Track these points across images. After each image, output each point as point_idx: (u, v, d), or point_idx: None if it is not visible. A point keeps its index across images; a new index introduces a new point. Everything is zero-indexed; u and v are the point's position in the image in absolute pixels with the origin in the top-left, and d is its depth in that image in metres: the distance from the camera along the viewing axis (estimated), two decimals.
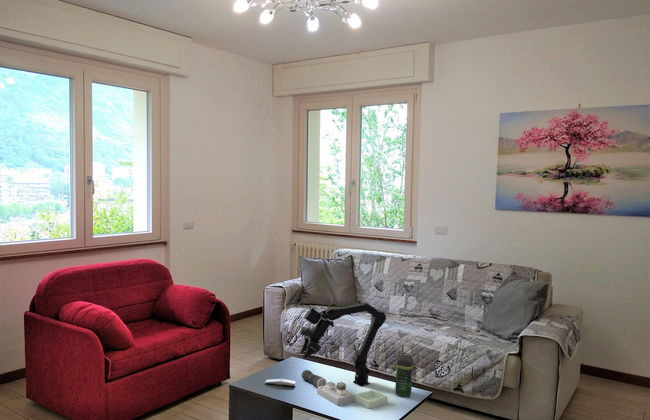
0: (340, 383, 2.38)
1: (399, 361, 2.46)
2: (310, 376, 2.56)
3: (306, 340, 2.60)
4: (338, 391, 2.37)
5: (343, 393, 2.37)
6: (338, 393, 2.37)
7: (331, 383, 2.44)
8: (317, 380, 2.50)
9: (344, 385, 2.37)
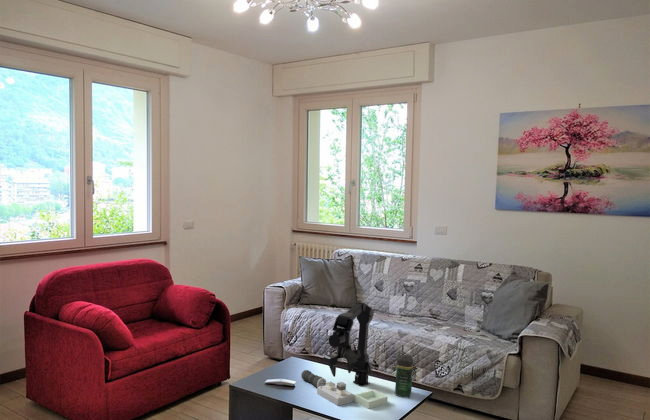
0: (340, 383, 2.38)
1: (399, 361, 2.46)
2: (310, 376, 2.56)
3: None
4: (338, 391, 2.37)
5: (343, 393, 2.37)
6: (338, 393, 2.37)
7: (331, 383, 2.44)
8: (317, 380, 2.50)
9: (344, 385, 2.37)
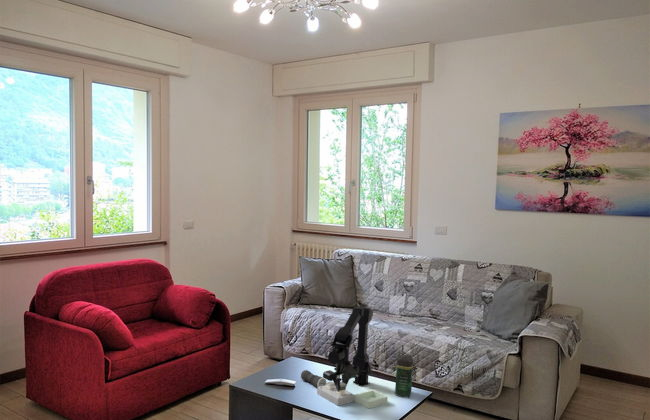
0: (340, 383, 2.38)
1: (399, 361, 2.46)
2: (310, 376, 2.56)
3: None
4: None
5: (343, 393, 2.37)
6: (338, 393, 2.37)
7: (331, 383, 2.44)
8: (317, 380, 2.50)
9: (344, 385, 2.37)
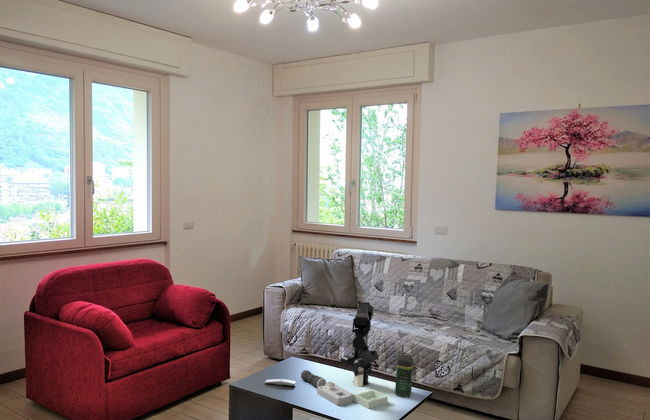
0: (358, 367, 2.38)
1: (399, 361, 2.46)
2: (310, 376, 2.56)
3: None
4: (356, 376, 2.37)
5: (361, 378, 2.36)
6: (356, 378, 2.37)
7: (331, 383, 2.44)
8: (317, 380, 2.50)
9: (362, 370, 2.36)
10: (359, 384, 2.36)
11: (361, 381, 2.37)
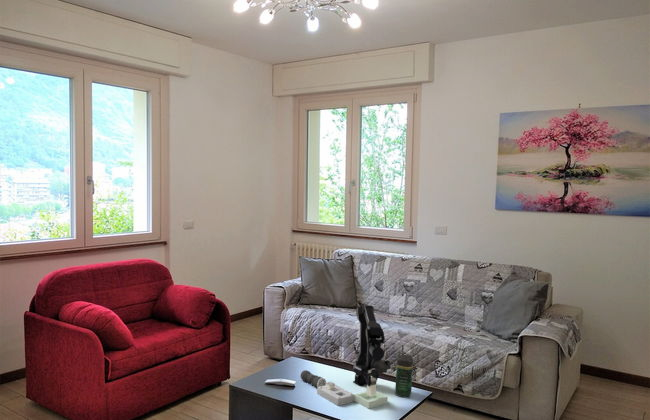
0: (371, 377, 2.38)
1: (399, 361, 2.46)
2: (309, 376, 2.56)
3: None
4: (369, 386, 2.36)
5: (374, 388, 2.36)
6: (369, 388, 2.36)
7: (331, 383, 2.44)
8: (317, 380, 2.50)
9: (375, 380, 2.36)
10: (372, 394, 2.36)
11: (374, 391, 2.37)
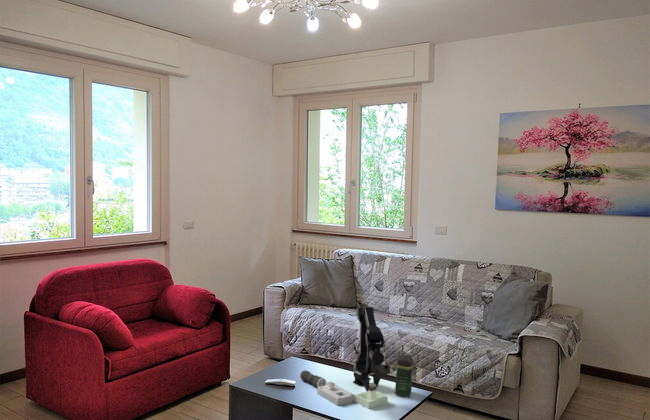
0: (370, 383, 2.38)
1: (399, 361, 2.46)
2: (309, 376, 2.56)
3: None
4: (368, 392, 2.37)
5: (373, 394, 2.36)
6: (368, 394, 2.36)
7: (331, 383, 2.44)
8: (317, 380, 2.50)
9: (374, 386, 2.37)
10: None
11: (374, 397, 2.37)
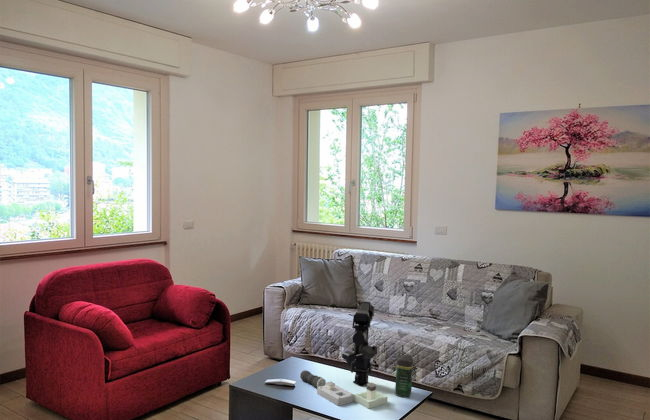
0: (370, 383, 2.38)
1: (399, 361, 2.46)
2: (309, 376, 2.56)
3: None
4: (368, 392, 2.37)
5: (373, 394, 2.36)
6: (368, 394, 2.36)
7: (331, 383, 2.44)
8: (317, 380, 2.50)
9: (374, 386, 2.37)
10: None
11: (374, 397, 2.37)
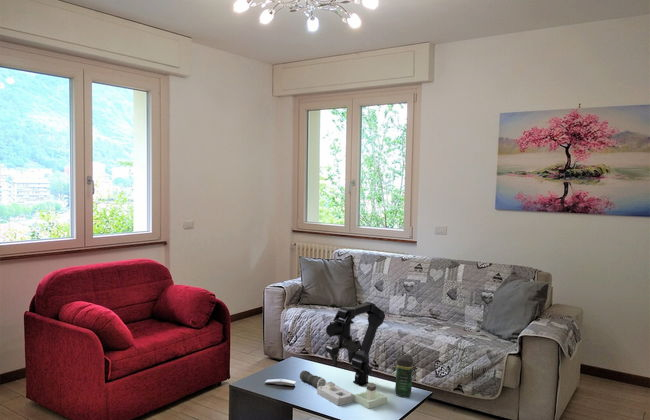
0: (370, 383, 2.38)
1: (399, 361, 2.46)
2: (309, 377, 2.56)
3: None
4: (368, 392, 2.37)
5: (373, 394, 2.36)
6: (368, 394, 2.36)
7: (331, 383, 2.44)
8: (317, 380, 2.50)
9: (374, 386, 2.37)
10: None
11: (374, 397, 2.37)
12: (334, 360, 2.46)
